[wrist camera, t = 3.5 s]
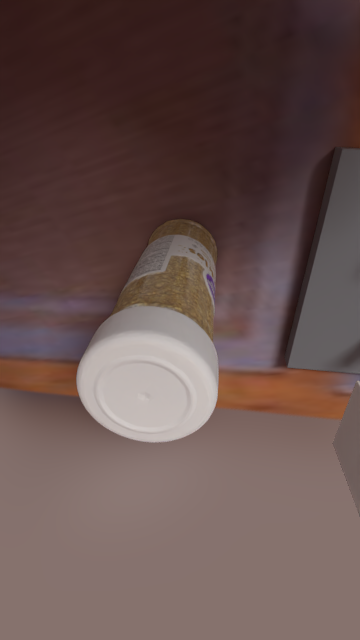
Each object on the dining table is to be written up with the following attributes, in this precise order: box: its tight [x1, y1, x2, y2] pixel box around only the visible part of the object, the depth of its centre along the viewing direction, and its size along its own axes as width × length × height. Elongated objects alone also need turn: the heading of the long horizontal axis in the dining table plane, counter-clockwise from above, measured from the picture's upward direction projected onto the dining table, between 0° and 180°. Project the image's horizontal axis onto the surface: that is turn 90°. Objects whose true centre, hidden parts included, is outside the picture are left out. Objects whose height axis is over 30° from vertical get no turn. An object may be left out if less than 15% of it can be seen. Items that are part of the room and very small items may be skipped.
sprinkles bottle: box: [76, 219, 218, 442], centre depth 16 cm, size 5×5×13 cm
